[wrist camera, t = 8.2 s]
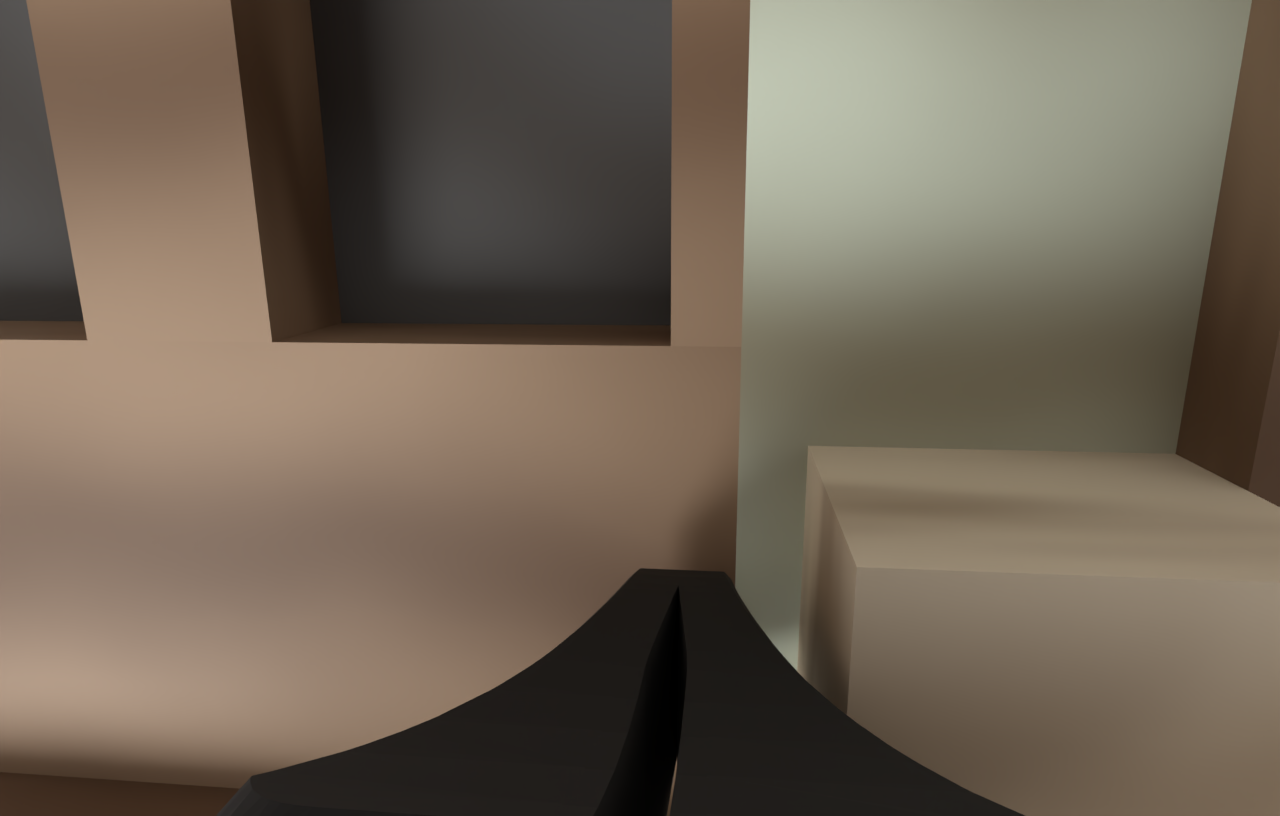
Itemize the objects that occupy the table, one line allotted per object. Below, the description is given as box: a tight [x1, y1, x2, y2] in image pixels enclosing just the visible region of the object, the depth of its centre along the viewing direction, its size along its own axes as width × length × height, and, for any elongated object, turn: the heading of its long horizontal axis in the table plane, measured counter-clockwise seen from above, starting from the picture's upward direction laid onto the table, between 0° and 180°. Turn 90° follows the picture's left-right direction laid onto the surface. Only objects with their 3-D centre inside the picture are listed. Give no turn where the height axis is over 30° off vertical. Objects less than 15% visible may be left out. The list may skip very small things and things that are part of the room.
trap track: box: [0, 0, 1280, 816], centre depth 12 cm, size 16×23×4 cm
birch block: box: [797, 446, 1280, 816], centre depth 9 cm, size 5×5×4 cm
